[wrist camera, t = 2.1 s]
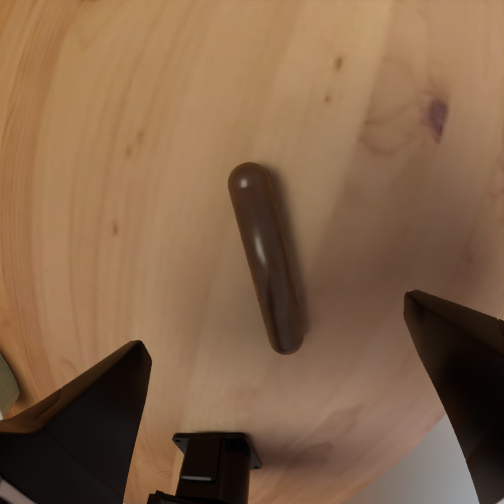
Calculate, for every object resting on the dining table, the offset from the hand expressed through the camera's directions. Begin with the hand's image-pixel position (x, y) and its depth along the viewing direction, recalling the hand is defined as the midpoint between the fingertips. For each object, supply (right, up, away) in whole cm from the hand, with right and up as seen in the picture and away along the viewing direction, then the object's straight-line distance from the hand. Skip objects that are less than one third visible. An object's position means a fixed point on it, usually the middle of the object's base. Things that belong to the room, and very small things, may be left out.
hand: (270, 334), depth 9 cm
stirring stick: (0, +2, +5) cm, 6 cm away
